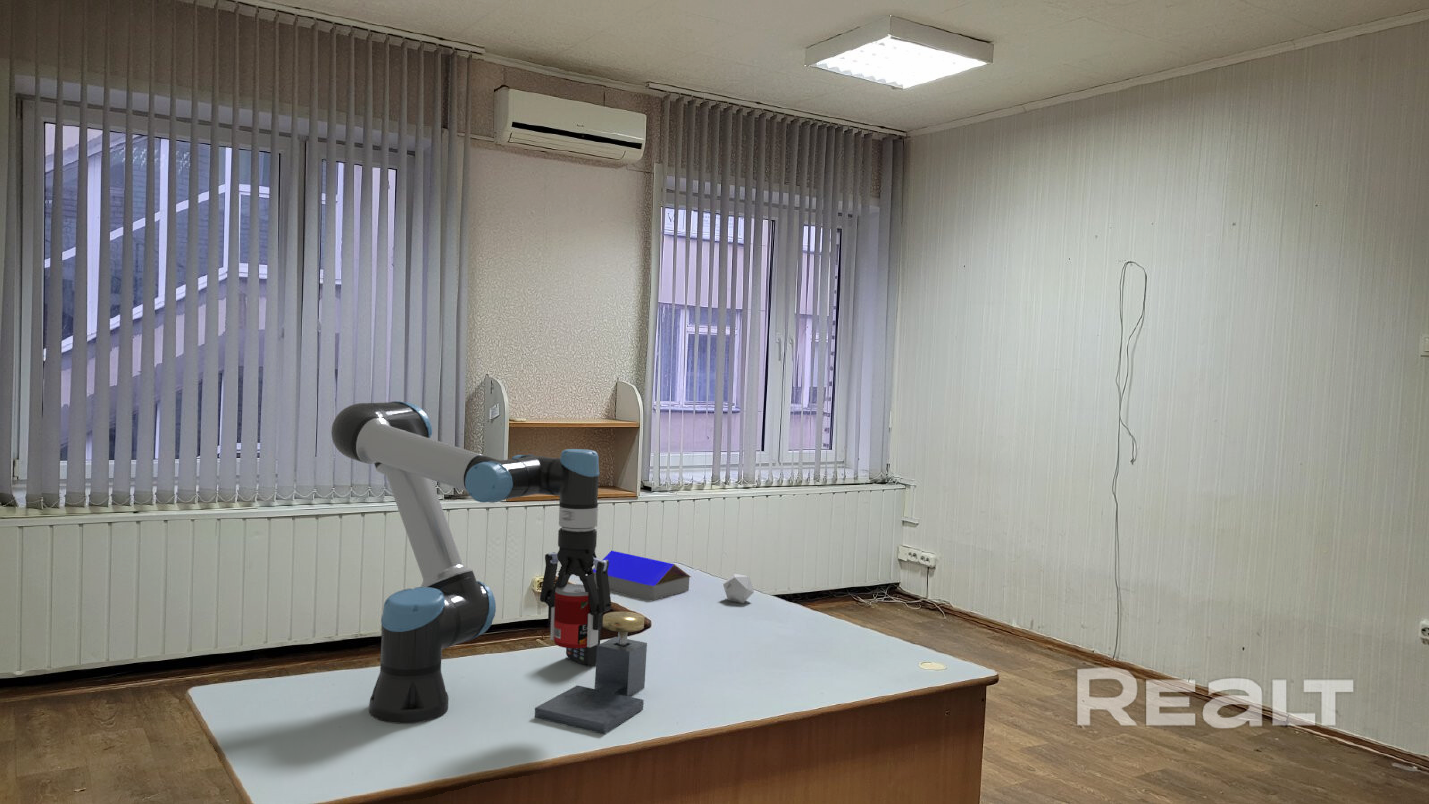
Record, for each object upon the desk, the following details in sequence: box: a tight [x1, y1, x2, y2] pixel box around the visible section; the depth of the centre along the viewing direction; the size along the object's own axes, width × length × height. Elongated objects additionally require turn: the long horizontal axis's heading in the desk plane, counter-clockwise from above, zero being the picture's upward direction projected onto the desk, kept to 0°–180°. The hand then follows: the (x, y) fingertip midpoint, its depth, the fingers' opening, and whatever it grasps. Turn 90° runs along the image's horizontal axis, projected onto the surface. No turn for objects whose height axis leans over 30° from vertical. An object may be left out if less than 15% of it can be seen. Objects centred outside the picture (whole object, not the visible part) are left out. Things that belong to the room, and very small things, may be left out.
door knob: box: [602, 611, 645, 647], centre depth 222 cm, size 9×9×10 cm
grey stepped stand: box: [534, 636, 648, 735], centre depth 213 cm, size 16×28×10 cm, turn 156°
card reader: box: [565, 628, 602, 667], centre depth 240 cm, size 9×4×15 cm, turn 45°
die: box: [722, 573, 755, 604], centre depth 307 cm, size 8×9×10 cm
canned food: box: [553, 583, 592, 649], centre depth 202 cm, size 8×8×11 cm
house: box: [592, 550, 692, 601], centre depth 316 cm, size 19×25×10 cm
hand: (573, 641), depth 202 cm, fingers closed on canned food, 8 cm apart
